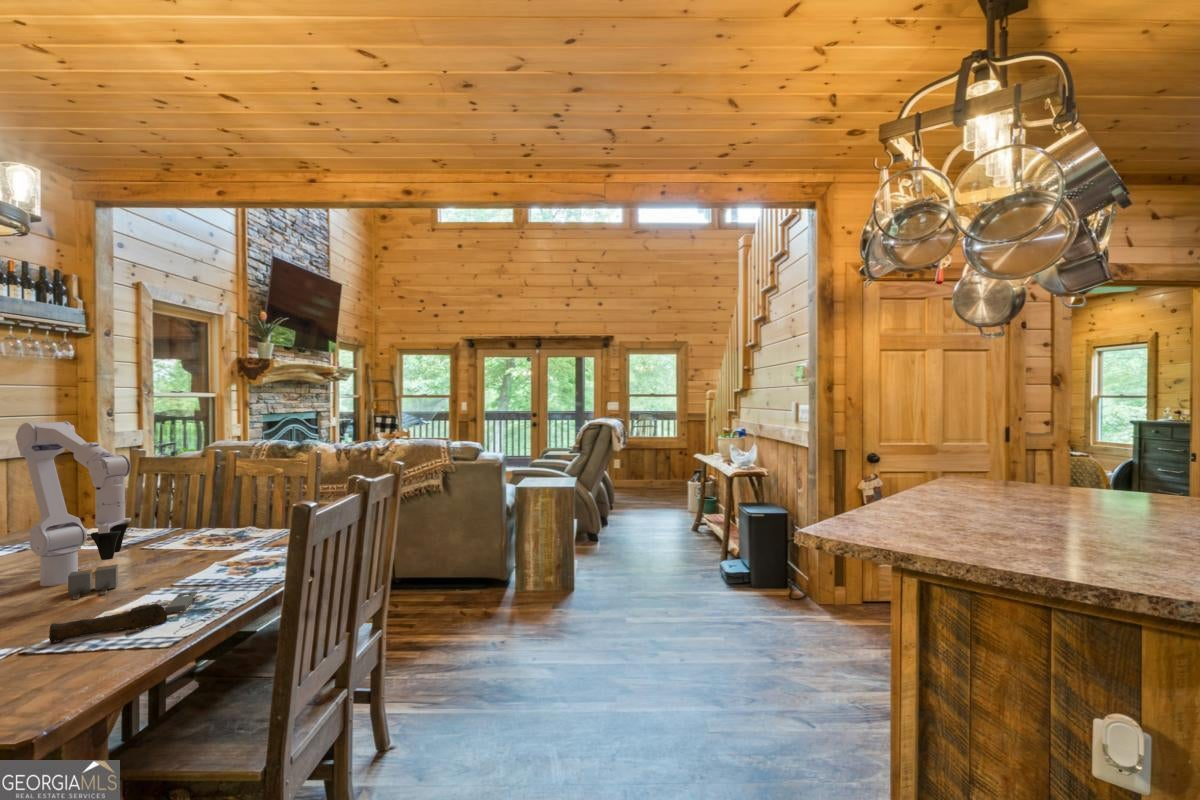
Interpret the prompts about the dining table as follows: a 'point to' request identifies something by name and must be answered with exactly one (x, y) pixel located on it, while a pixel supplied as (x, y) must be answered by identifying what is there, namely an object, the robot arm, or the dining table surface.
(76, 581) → the fixed leg
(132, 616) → the hand tool
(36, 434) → the robot arm
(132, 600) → the dining table surface
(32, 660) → the dining table surface
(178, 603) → the bracket
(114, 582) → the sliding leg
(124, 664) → the dining table surface
